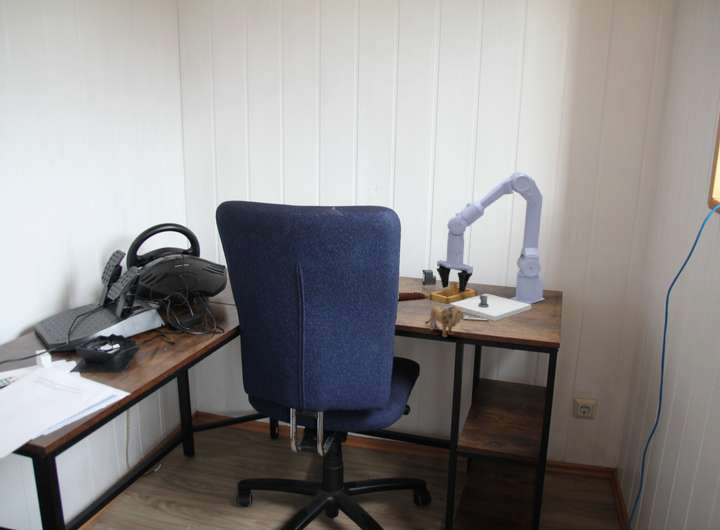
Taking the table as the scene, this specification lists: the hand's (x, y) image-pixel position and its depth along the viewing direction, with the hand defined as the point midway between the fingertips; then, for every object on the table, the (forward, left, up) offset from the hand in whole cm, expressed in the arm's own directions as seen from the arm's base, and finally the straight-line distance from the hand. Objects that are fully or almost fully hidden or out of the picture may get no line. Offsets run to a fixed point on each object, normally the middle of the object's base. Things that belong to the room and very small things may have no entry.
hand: (453, 289), depth 189 cm
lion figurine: (+31, +22, -3) cm, 38 cm away
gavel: (+17, -9, -4) cm, 20 cm away
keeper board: (+1, +17, -3) cm, 17 cm away
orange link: (0, 0, -3) cm, 3 cm away
